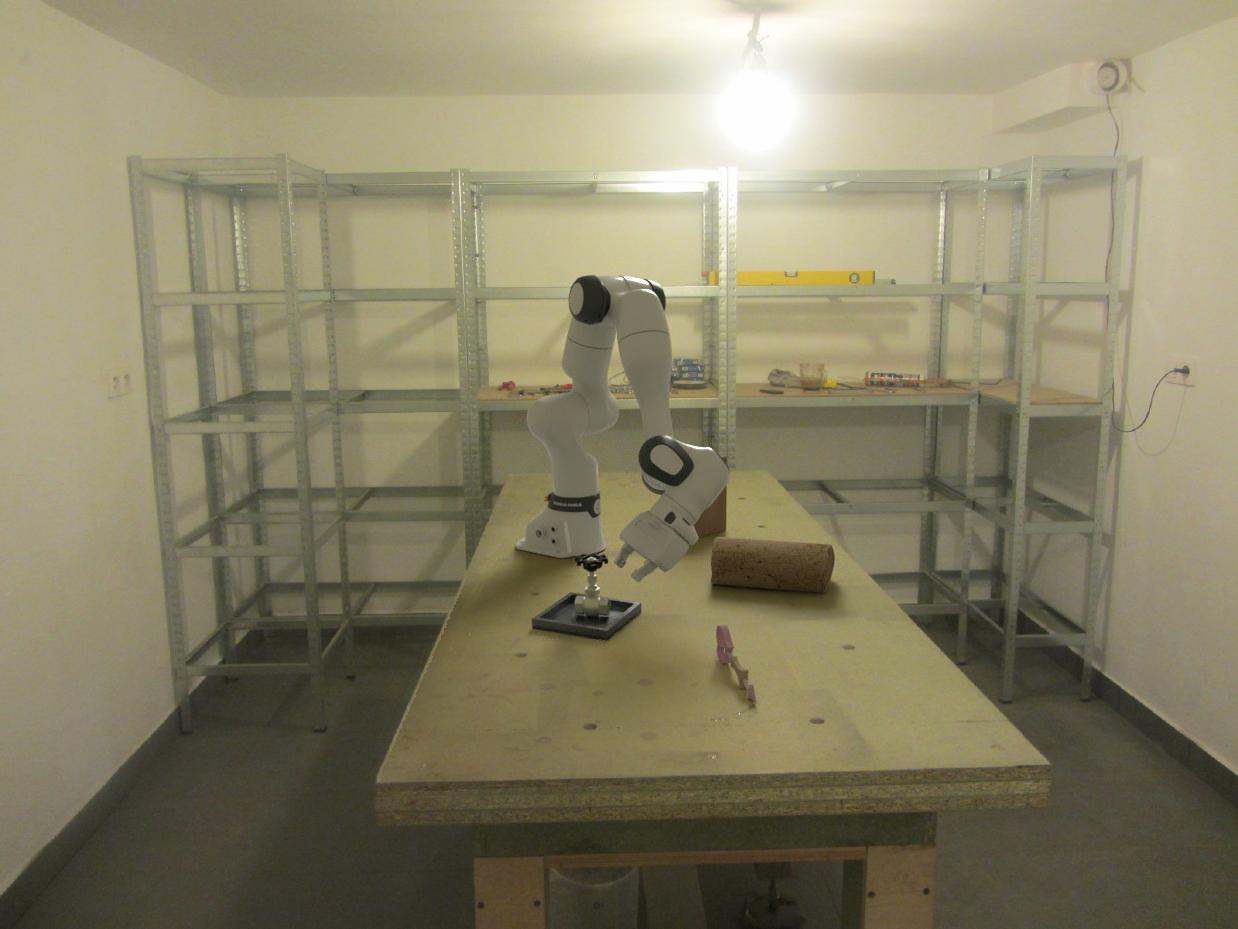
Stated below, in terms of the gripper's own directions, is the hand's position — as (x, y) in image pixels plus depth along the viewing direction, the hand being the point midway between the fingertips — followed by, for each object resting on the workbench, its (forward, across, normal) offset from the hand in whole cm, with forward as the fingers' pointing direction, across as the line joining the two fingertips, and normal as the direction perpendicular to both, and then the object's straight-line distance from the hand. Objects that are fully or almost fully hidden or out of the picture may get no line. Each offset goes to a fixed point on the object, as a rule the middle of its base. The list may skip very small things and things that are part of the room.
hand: (625, 572), depth 179 cm
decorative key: (+2, +35, +11) cm, 37 cm away
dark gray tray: (+12, 0, 0) cm, 12 cm away
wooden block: (-22, -48, +34) cm, 63 cm away
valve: (+11, 0, +1) cm, 11 cm away
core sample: (-18, -4, +32) cm, 37 cm away
